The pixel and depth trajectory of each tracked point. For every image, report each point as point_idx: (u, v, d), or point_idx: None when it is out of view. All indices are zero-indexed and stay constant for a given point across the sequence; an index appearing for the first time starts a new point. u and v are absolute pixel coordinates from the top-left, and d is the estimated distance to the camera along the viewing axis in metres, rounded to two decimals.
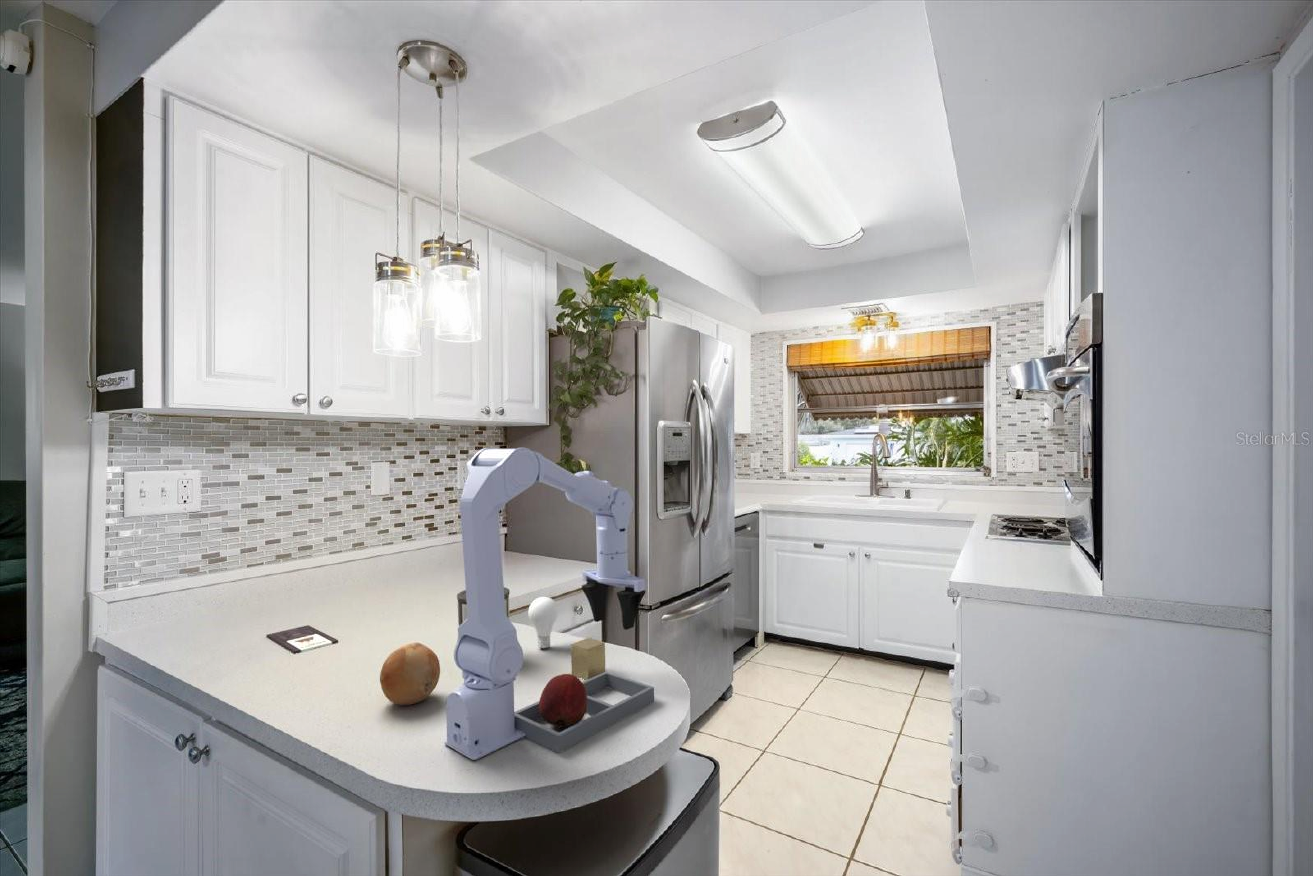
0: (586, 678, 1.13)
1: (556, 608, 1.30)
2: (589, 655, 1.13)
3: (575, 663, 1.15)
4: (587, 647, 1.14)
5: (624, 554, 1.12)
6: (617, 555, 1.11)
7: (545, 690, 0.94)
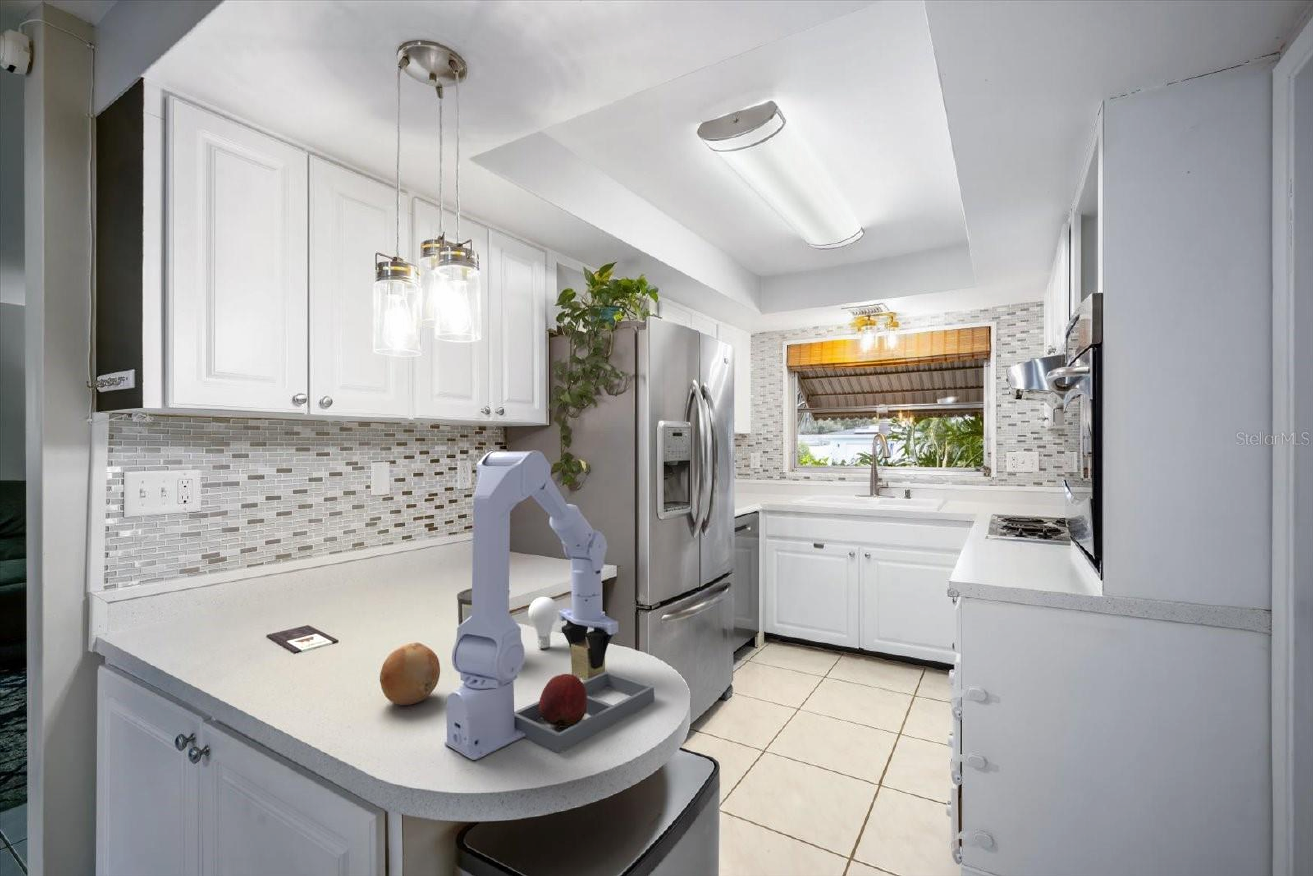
0: (586, 678, 1.13)
1: (556, 608, 1.30)
2: (589, 654, 1.13)
3: (575, 662, 1.15)
4: (587, 647, 1.14)
5: (598, 596, 1.14)
6: (591, 597, 1.13)
7: (545, 690, 0.94)
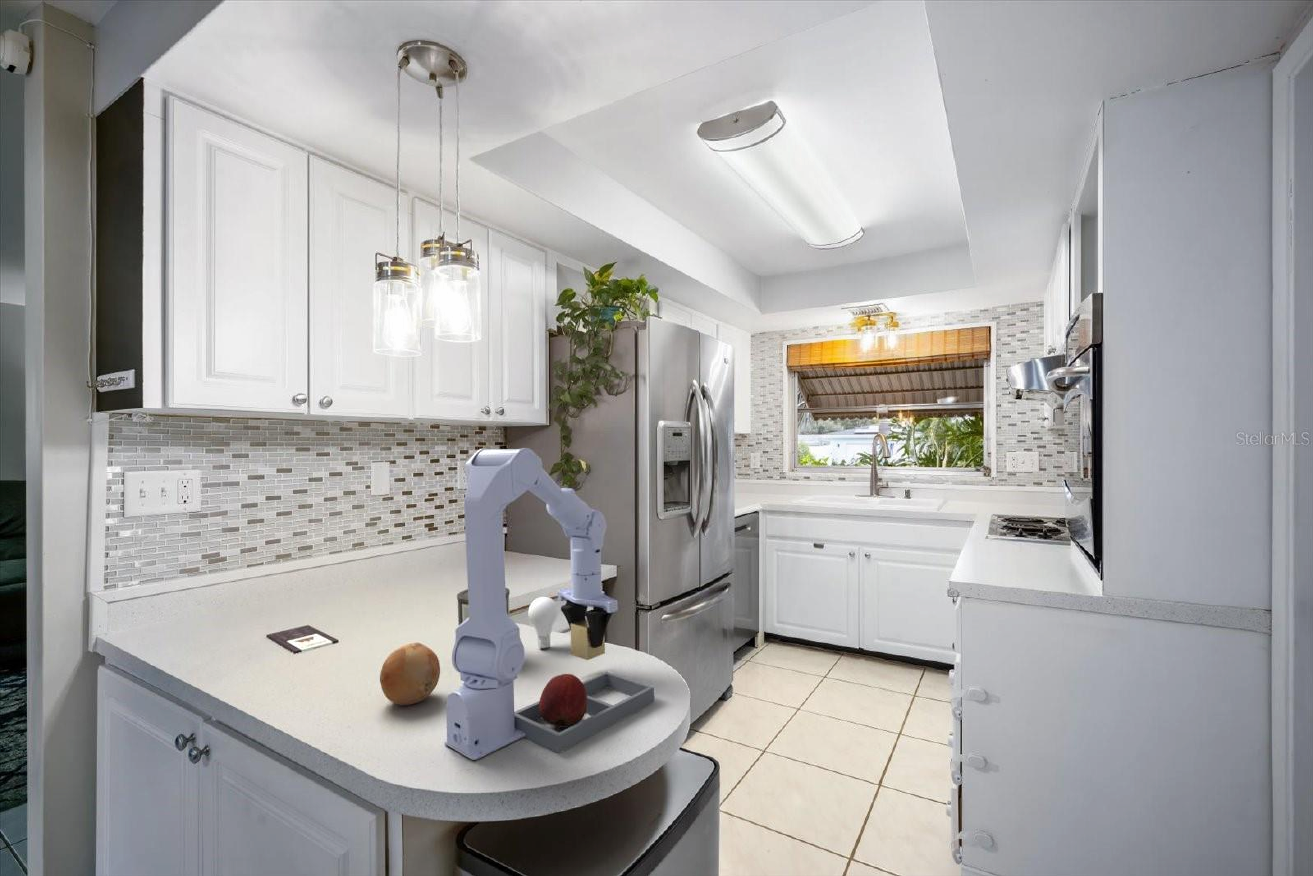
0: (585, 657, 1.13)
1: (556, 608, 1.30)
2: (589, 633, 1.13)
3: (575, 642, 1.15)
4: (587, 626, 1.14)
5: (597, 575, 1.14)
6: (590, 576, 1.13)
7: (545, 690, 0.94)
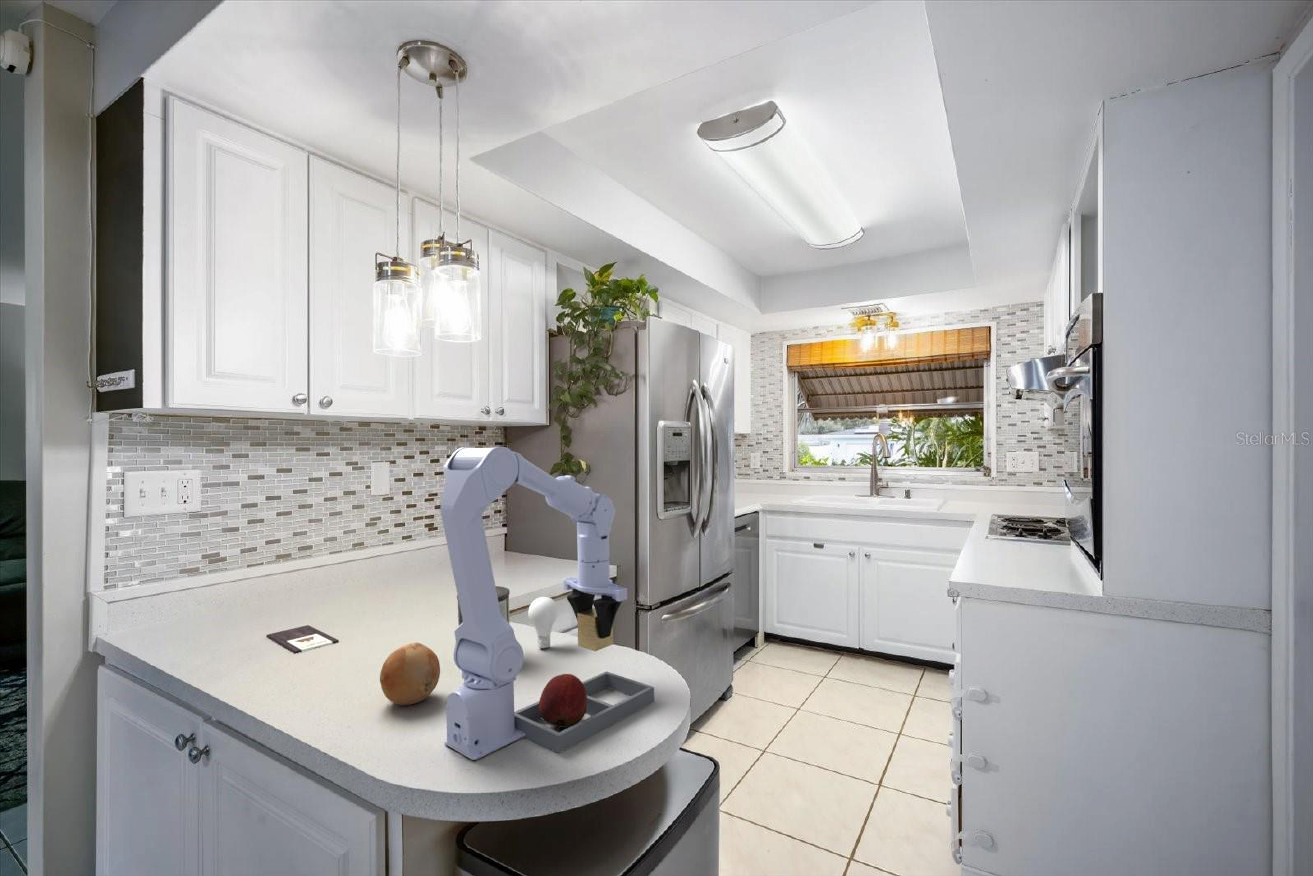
0: (593, 648, 1.08)
1: (556, 608, 1.30)
2: (597, 623, 1.08)
3: (582, 632, 1.10)
4: (594, 615, 1.08)
5: (606, 562, 1.09)
6: (598, 563, 1.08)
7: (545, 690, 0.94)
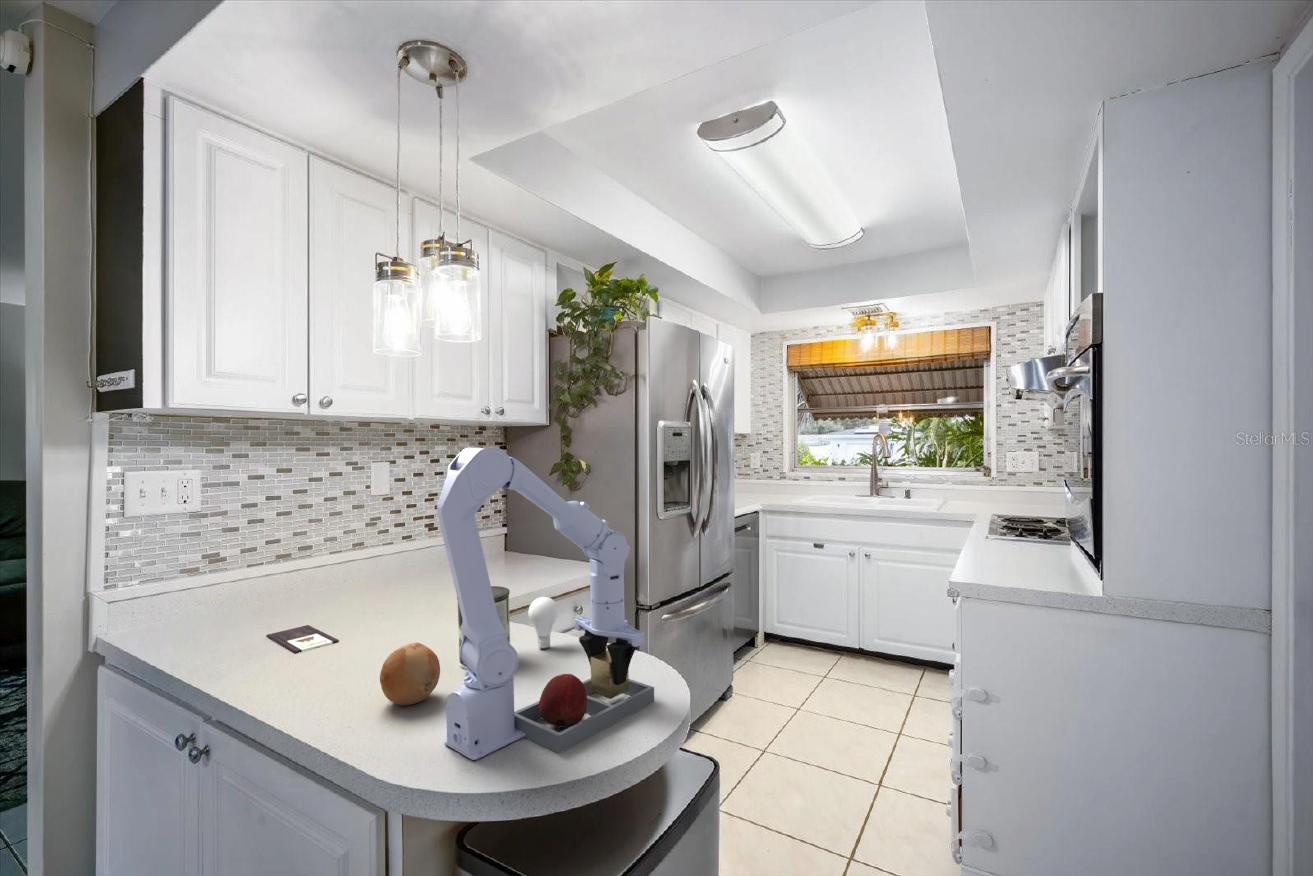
0: (608, 695, 1.00)
1: (556, 608, 1.30)
2: (612, 669, 1.01)
3: (595, 678, 1.02)
4: (609, 660, 1.01)
5: (621, 603, 1.02)
6: (613, 605, 1.01)
7: (545, 690, 0.94)
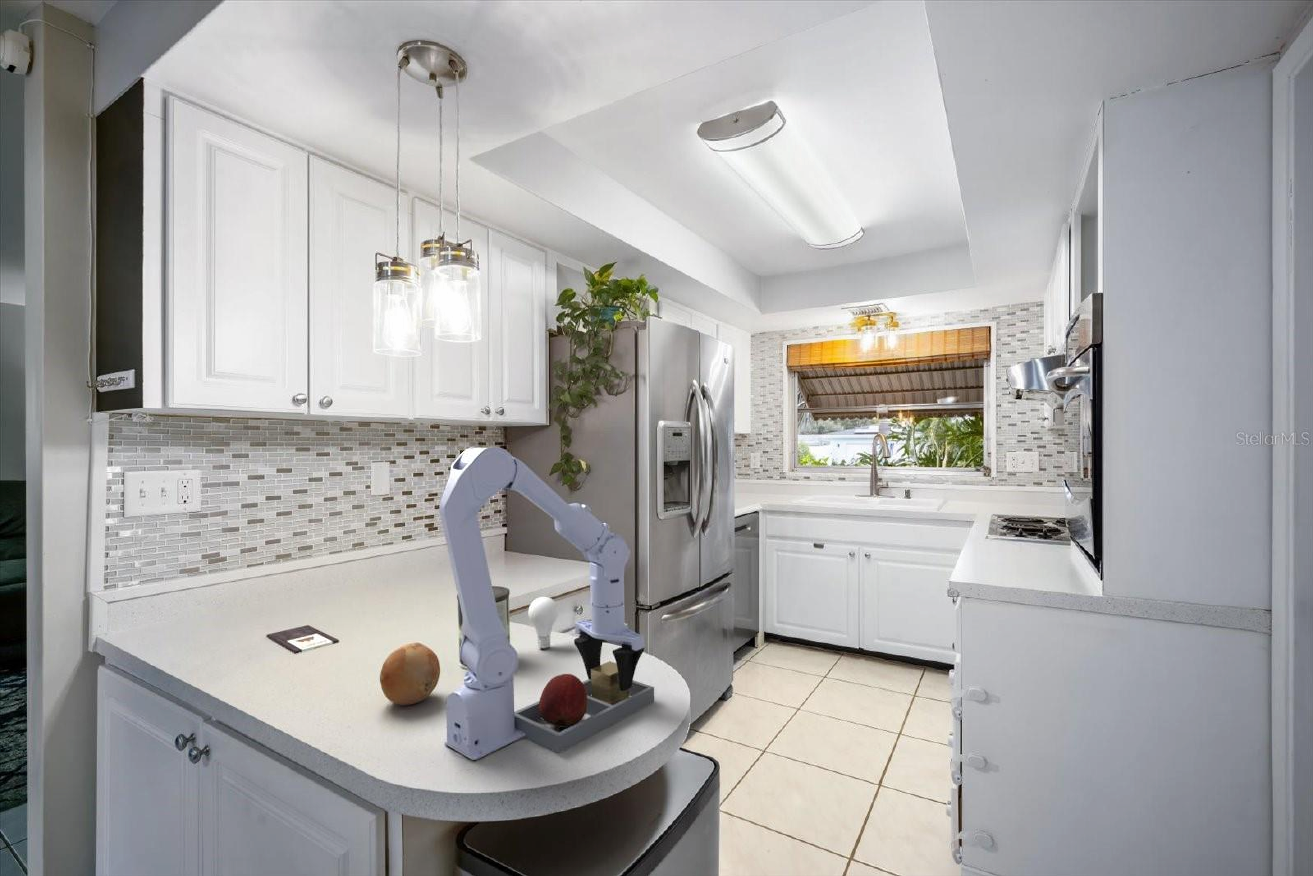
0: None
1: (556, 608, 1.30)
2: (612, 682, 1.01)
3: (596, 690, 1.02)
4: (609, 673, 1.01)
5: (621, 607, 1.02)
6: (613, 608, 1.01)
7: (545, 690, 0.94)
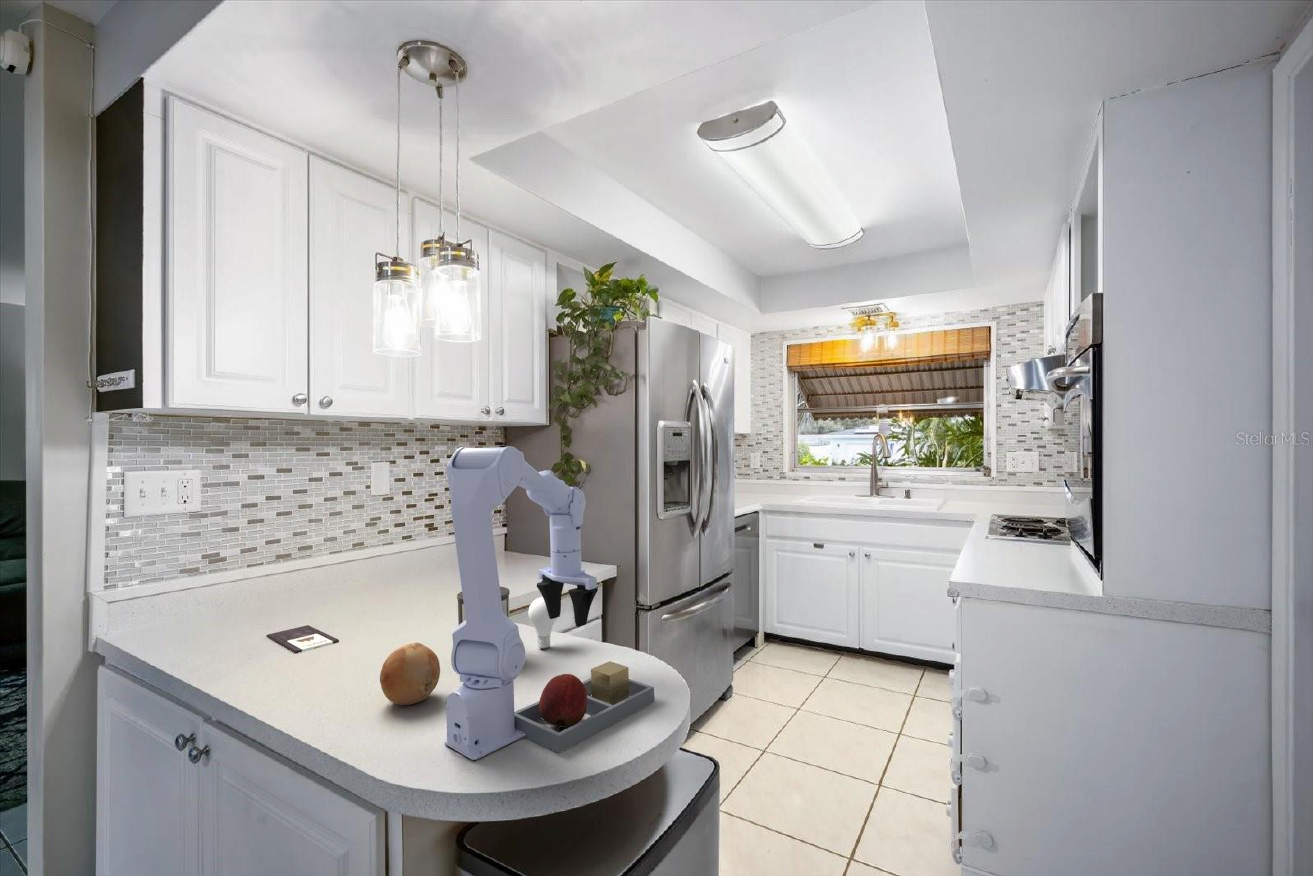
0: None
1: None
2: (612, 682, 1.01)
3: (596, 690, 1.02)
4: (609, 673, 1.01)
5: (577, 552, 1.14)
6: (569, 553, 1.13)
7: (545, 690, 0.94)
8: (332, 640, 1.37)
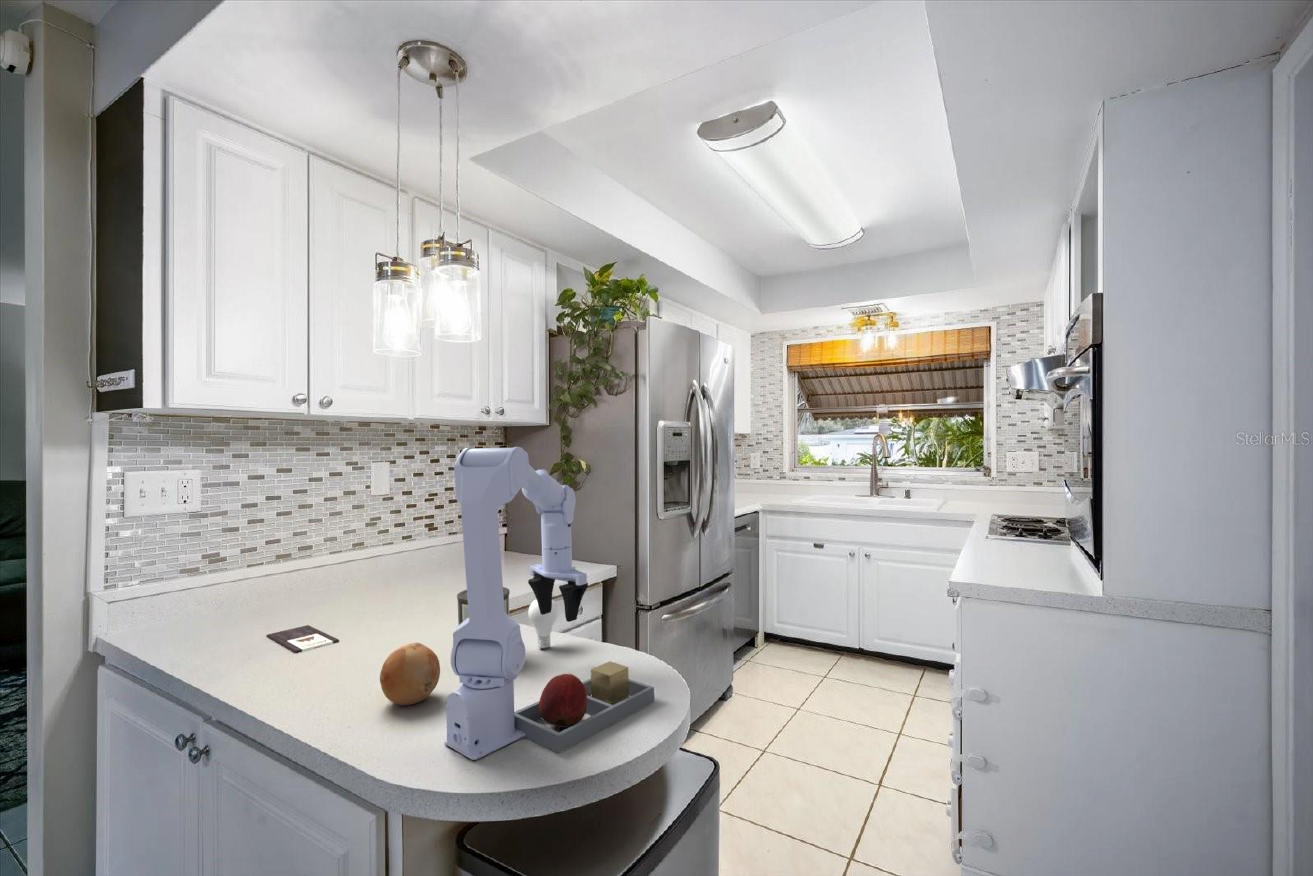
0: None
1: (556, 608, 1.30)
2: (612, 682, 1.01)
3: (596, 690, 1.02)
4: (609, 673, 1.01)
5: (567, 549, 1.17)
6: (560, 550, 1.15)
7: (545, 690, 0.94)
8: (332, 640, 1.37)
